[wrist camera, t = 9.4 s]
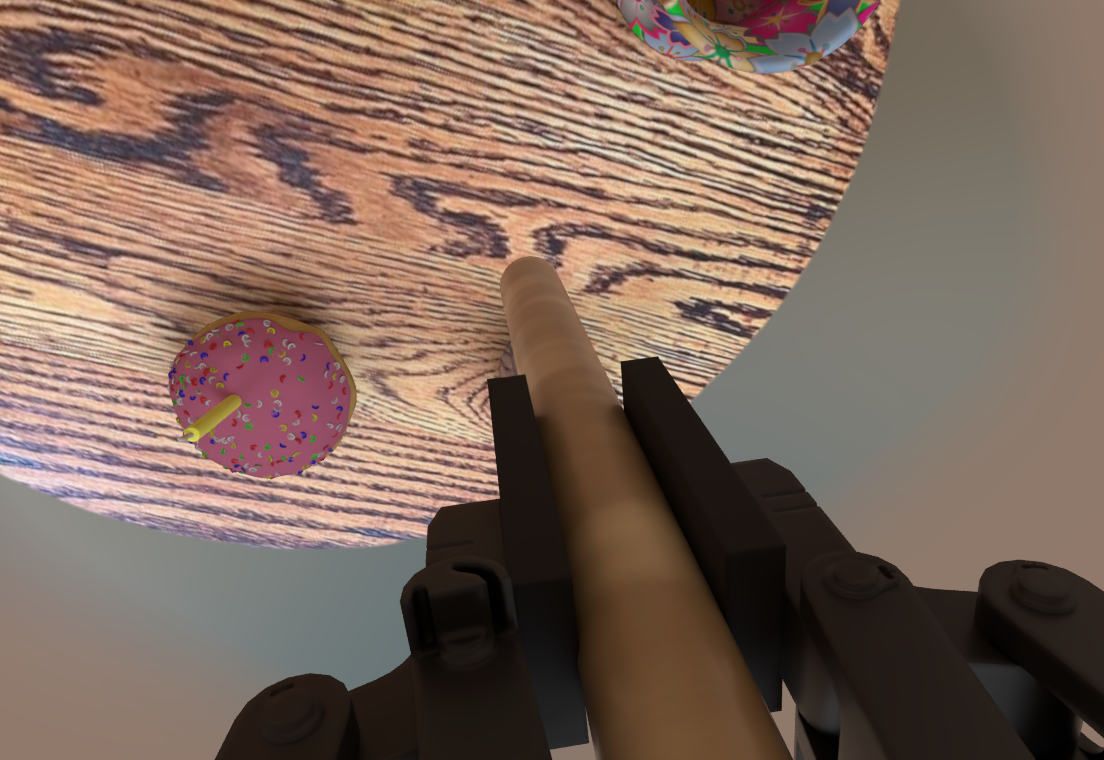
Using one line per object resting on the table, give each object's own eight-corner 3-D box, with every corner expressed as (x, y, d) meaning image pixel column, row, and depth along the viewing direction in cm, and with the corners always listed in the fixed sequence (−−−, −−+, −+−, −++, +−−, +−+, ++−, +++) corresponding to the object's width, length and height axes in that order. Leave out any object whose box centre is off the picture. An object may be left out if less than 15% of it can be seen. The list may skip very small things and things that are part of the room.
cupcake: (166, 367, 41) (63, 479, 30) (268, 252, 40) (197, 328, 29) (298, 461, 44) (247, 595, 33) (397, 359, 43) (378, 464, 32)
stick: (557, 252, 26) (821, 748, 7) (562, 310, 26) (813, 890, 8) (496, 259, 25) (610, 784, 7) (503, 317, 26) (622, 924, 8)
